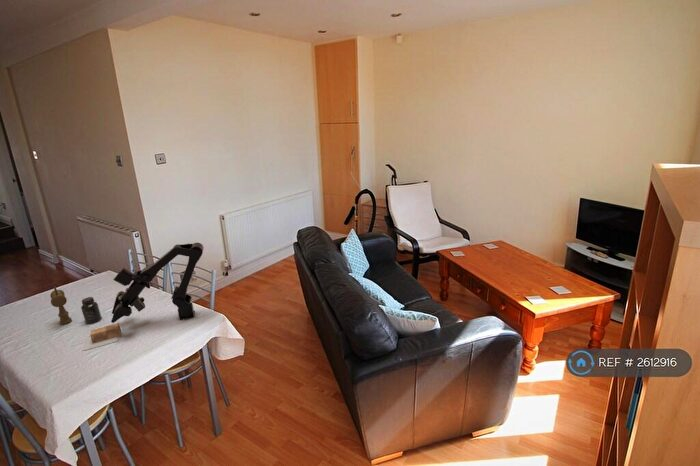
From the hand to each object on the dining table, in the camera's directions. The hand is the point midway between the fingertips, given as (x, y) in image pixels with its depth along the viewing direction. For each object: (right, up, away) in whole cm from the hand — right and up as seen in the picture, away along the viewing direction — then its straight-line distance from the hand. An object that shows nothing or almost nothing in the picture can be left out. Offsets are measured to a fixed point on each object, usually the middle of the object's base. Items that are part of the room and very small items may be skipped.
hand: (112, 318), depth 171 cm
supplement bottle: (-17, -4, +12) cm, 21 cm away
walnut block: (+4, -5, -1) cm, 7 cm away
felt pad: (-2, -9, -4) cm, 10 cm away
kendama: (-31, -5, +11) cm, 33 cm away
